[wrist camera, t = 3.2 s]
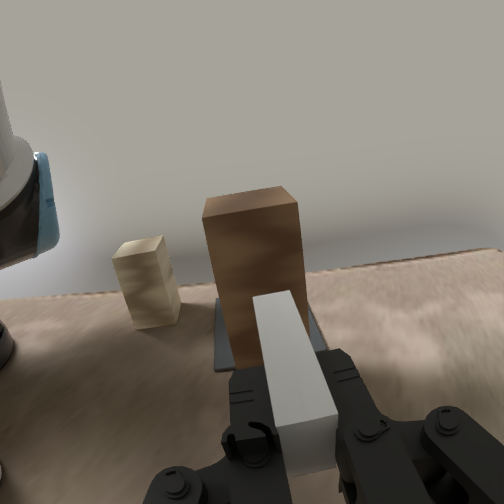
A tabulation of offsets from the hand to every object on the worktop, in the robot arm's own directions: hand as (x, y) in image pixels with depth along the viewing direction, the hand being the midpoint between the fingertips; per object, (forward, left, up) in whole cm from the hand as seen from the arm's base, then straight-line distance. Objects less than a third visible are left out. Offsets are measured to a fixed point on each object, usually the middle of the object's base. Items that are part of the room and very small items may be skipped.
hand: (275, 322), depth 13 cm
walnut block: (-3, +7, -11) cm, 14 cm away
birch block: (-20, +15, -12) cm, 28 cm away
